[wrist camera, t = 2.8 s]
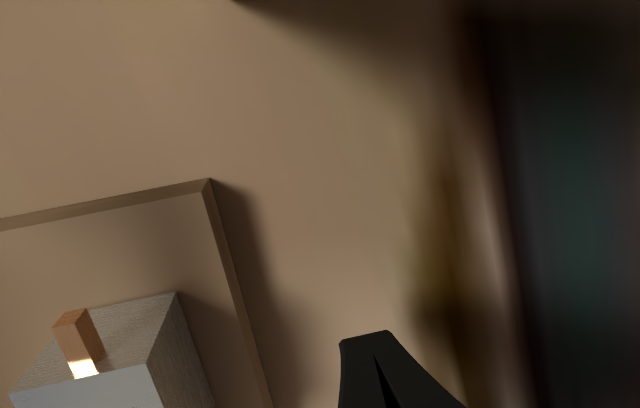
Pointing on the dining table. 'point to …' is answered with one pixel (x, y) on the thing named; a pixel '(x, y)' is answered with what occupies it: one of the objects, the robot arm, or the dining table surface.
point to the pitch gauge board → (129, 280)
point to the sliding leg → (118, 360)
